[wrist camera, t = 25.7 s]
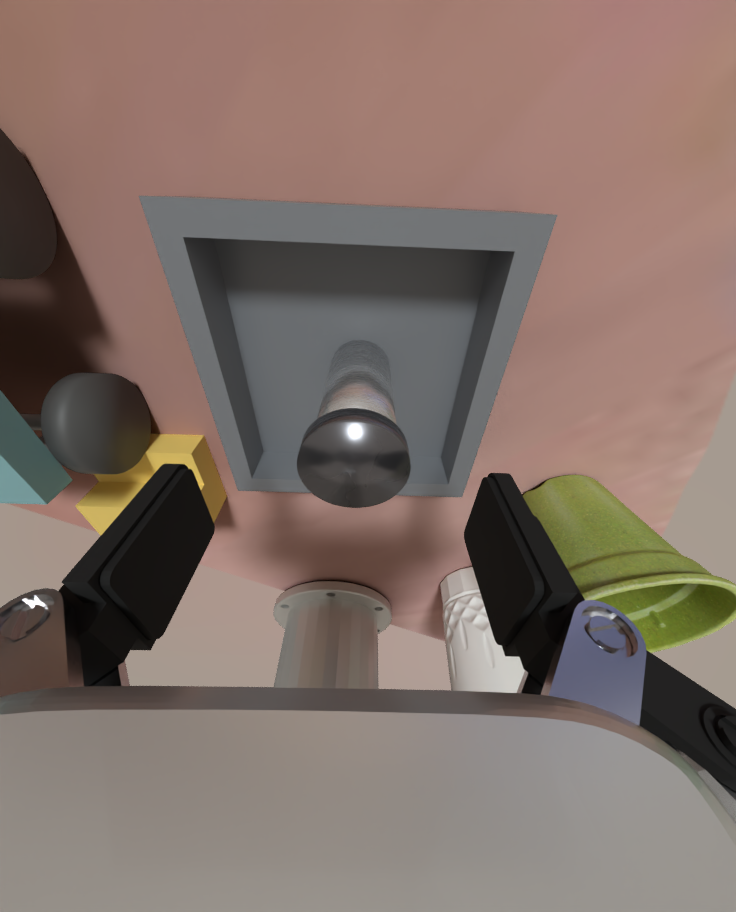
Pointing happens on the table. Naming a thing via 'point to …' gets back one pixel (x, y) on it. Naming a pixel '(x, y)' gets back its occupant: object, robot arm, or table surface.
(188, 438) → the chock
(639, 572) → the plant pot
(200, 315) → the tray
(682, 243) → the table surface
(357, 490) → the pin
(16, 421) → the trolley
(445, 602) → the white cup
